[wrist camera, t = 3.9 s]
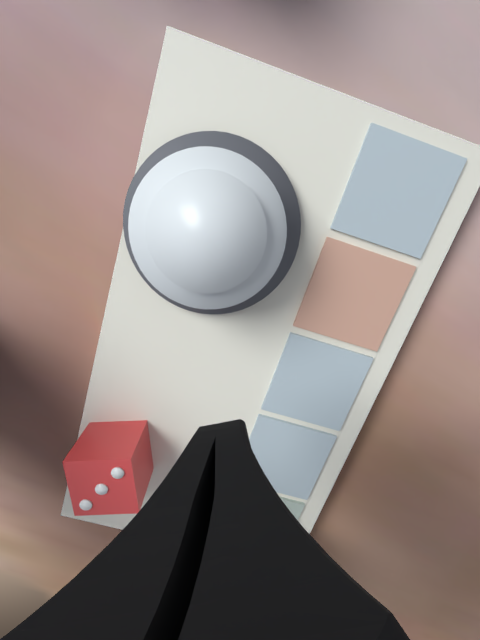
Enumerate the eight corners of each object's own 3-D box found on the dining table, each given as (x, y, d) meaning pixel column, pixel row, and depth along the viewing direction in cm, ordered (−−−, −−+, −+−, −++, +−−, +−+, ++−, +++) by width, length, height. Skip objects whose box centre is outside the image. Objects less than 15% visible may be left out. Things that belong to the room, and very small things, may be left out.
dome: (130, 273, 16) (108, 287, 13) (162, 135, 15) (144, 117, 12) (254, 311, 17) (258, 332, 14) (299, 183, 15) (313, 177, 12)
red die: (98, 470, 21) (73, 517, 17) (89, 422, 20) (61, 463, 16) (153, 468, 21) (138, 514, 17) (147, 420, 20) (130, 460, 16)
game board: (68, 502, 22) (55, 523, 21) (171, 37, 15) (164, 17, 14) (290, 555, 24) (293, 578, 22) (481, 155, 17) (506, 149, 15)
